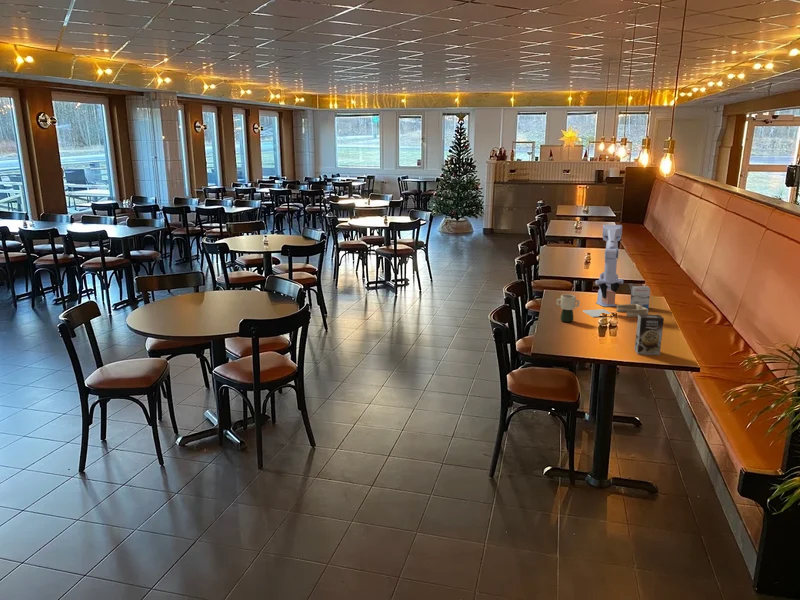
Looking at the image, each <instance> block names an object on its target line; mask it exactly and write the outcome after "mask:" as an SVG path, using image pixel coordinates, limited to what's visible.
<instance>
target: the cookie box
mask: <svg viewBox="0 0 800 600" xmlns="http://www.w3.org/2000/svg"><path fill="white" fill-rule="evenodd" d="M664 321H665V320H664V317H663V316H662V315H660V314H649V313H648V314H638V317H637V322H636V323H637V324H636V332H635V333H636V334H635V342H634V351H635V353H636V354H637V355H643V356H644V355H647V356H660V355H661V348H662V339H663V338H662V337H663V332H664V331H663V329H664Z"/></svg>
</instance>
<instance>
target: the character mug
mask: <svg viewBox="0 0 800 600" xmlns="http://www.w3.org/2000/svg"><path fill="white" fill-rule="evenodd" d="M576 298H577V297H576V295H573V294H561V295H560V298H556V305H557V306H560V308H561V314H560V320H561V321H562V322H566V323H567V322H568V323H569V322H574V311H573V310H574V309H576V308H577V307H578V308H579V307H580V303H581V302H580V300H578V299H576ZM576 303H577V304H576Z"/></svg>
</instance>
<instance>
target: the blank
mask: <svg viewBox="0 0 800 600" xmlns="http://www.w3.org/2000/svg"><path fill="white" fill-rule="evenodd" d="M616 293H617V291H616V292H614V291H611V290H607V291H606V298H603V297H602V302H604V303H606V304H615V305H616Z"/></svg>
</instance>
